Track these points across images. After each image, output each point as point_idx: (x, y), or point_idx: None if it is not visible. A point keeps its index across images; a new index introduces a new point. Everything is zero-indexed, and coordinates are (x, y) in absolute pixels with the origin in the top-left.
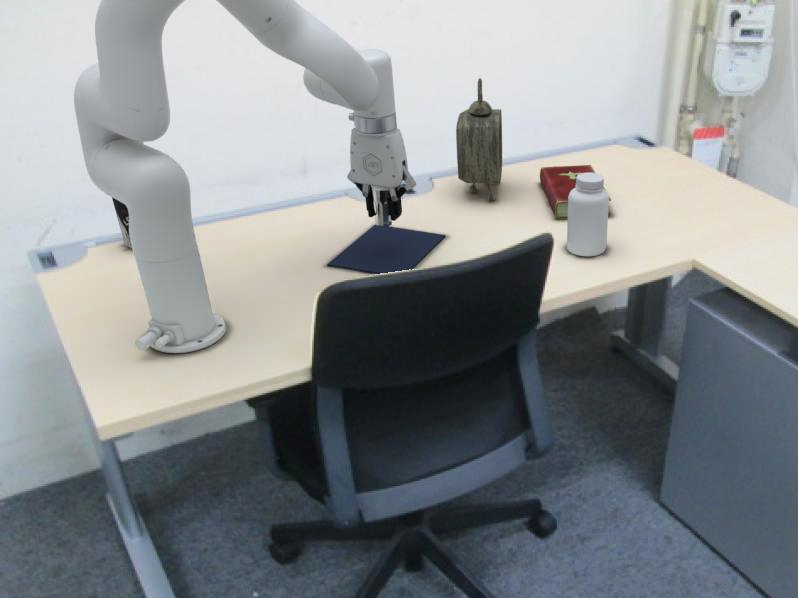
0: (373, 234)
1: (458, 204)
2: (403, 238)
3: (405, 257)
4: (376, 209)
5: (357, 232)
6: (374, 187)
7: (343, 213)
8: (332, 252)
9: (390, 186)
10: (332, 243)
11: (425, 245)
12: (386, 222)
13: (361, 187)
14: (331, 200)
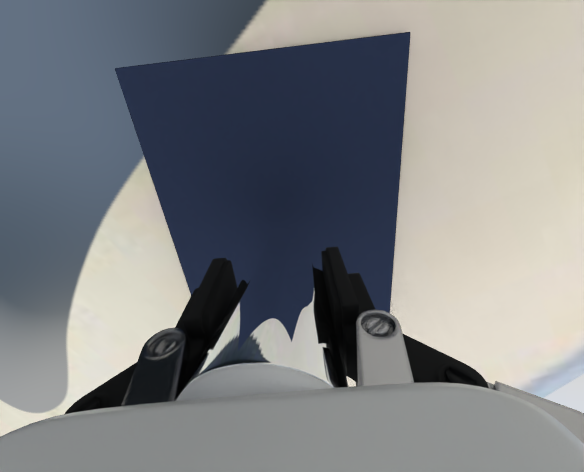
0: (366, 276)
1: None
2: None
3: (204, 196)
4: (290, 269)
5: (415, 274)
6: (278, 377)
7: (490, 337)
8: (433, 140)
9: (54, 422)
10: (456, 193)
11: None
12: (258, 251)
13: (425, 367)
14: (539, 372)
